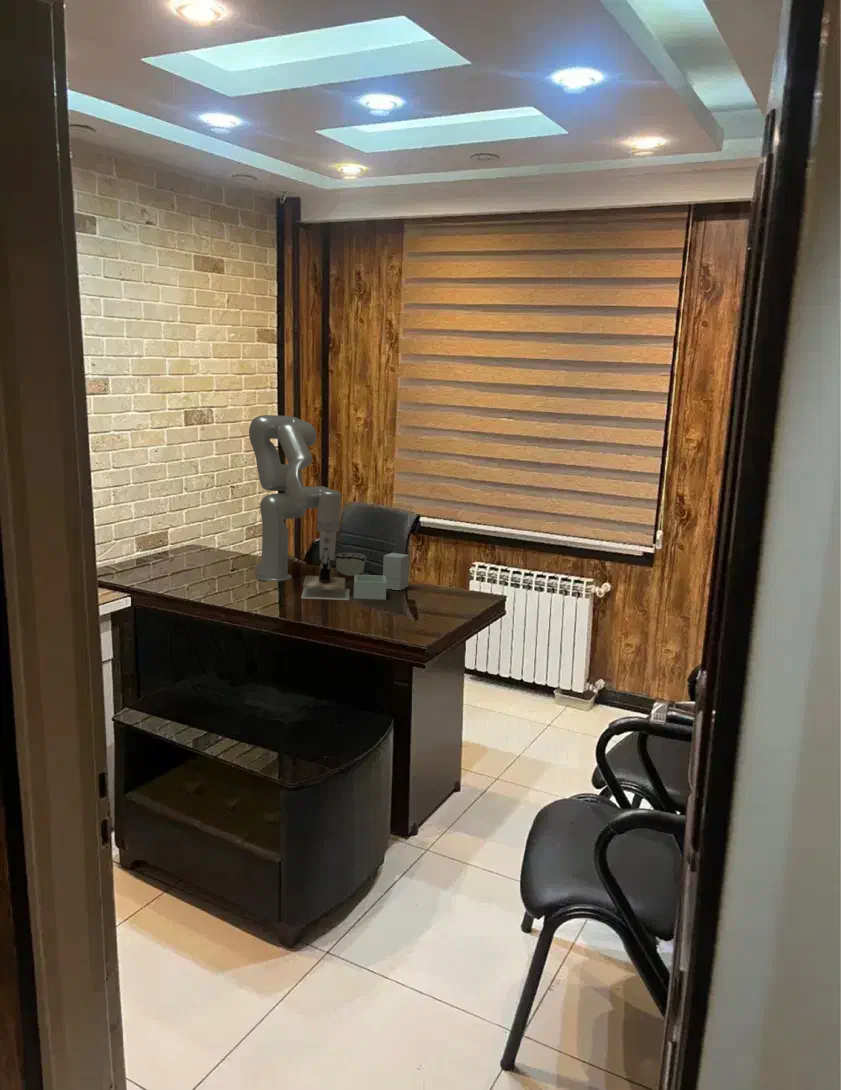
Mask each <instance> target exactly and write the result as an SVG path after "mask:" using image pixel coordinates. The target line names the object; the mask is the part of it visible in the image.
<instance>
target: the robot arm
mask: <svg viewBox="0 0 841 1090" xmlns="http://www.w3.org/2000/svg"><path fill="white" fill-rule="evenodd" d="M317 436H318V435H317V430H316V429H315V427H314V426H313V425H312V424H311V422H308V421H305V420H302V419H300V418H298V417H294V416H291V415H272V414H270V415H269V414H265V415H258V416H256V417H254V418H253V419H252V420H251V422H250V425H249V428H248V437H249V440H250V441H249V442H250V444H251V448H252V450H253V452H254V456H255V463H256V468H257V472H258V478H259V483H260V486H261V487H262V490H263V489H264V491H270V492H271V491H272V492H273V491H284V492H285V493H284V492H283V493H281V492H280V493H279V492H278V493H271V494H267V495H265V496H264V497H262V499H261V501H260V504H259V505H260V506H259V509H260V515H261V526H262V531H261V532H262V535H261V536H262V538H261V539H262V541H261V564H256V565H255V566H254V568H253V570H254V571H258V574H257V575H256V578H257V579H258V580H259V581H262V582H282V581H283V582H284V581H289V580H291V579H292V577H293V576H292V575H291V574H290V573H288V570H289V566H288V565H289V535H290V534H289V528H288V526H287V524H286V523H285V520H290V519H291V520H293V519H299V518H302V517H303V516H305V515H306V512H307V509H317V520H316V531H318V532H319V560H320V561H321V563H320V564H321V570H320V569H319V572H320V580H329V578H330V569H329V565H330V564H331V561H332V562H333V561H335V560H334V557H335V555H336V542H337V541H336V540H337V533H338V532H339V531H340V519H341V518H340V517H341V503H342V501H341V500H342V494H341V492H340V491H338V490H337V489H336V490H335V489H330V488H329V487H326V486H325V485H324V486H323V485H322V486H321V485H320V486H319V485H318V486H313V485H311V486H304V483H303V482H304V481H303V476H302V473H301V471H302V470H304V469H306V468H307V467H309V466H310V465H311V464H312V462H313V455H312V453H311V451H310V449H309V447H311V446H313V445H315V443H316V440H317ZM273 439H274V440H278V441H279V444H280V446H281V448H282V451H283V454H284V456H285V458H286V461H287V463H288V464H285V463H283V464H282V463H281V459H280V453H279V451H278V449H277V447H276V446H275V445H274V443H273V442H272V441H271V440H273Z"/></svg>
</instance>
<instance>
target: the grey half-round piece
mask: <svg viewBox="0 0 841 1090" xmlns="http://www.w3.org/2000/svg"><path fill="white" fill-rule="evenodd" d="M333 561H335V570H336V577H339V578H345V581H348V580H354V575H364V570H365V564H366V563H367V557H366V555H365V554H363V553H360V552H359V553H358V552H357V553H356V552H338V553H335V557H334V560H333Z"/></svg>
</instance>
